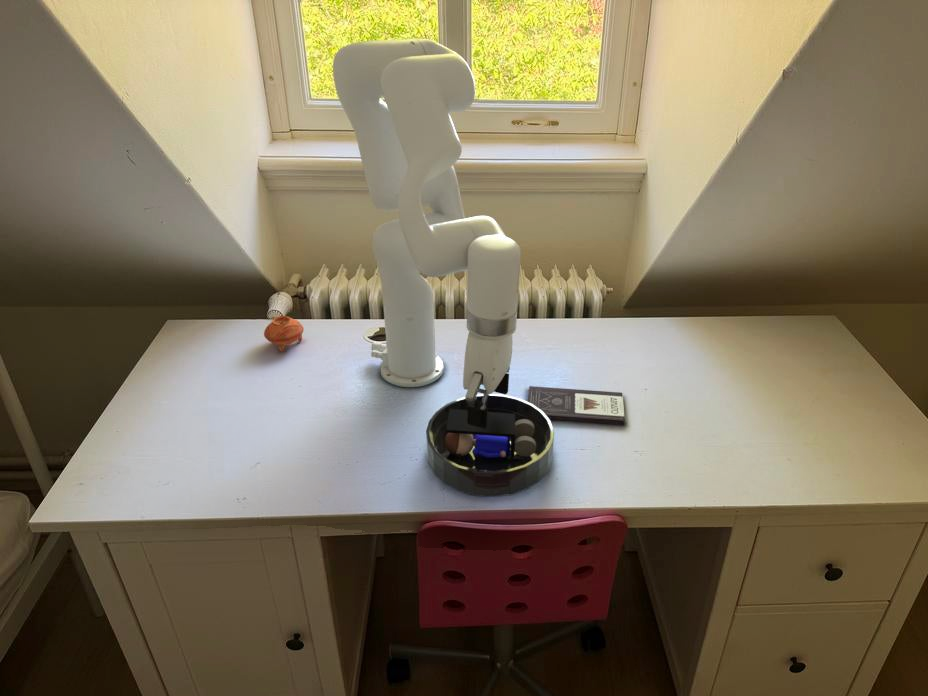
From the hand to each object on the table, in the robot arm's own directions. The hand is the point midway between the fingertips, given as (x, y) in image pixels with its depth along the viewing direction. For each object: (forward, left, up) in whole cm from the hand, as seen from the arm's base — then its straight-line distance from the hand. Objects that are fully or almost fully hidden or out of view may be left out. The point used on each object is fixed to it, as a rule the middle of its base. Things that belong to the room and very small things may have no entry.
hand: (488, 408), depth 113 cm
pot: (-52, +17, -10) cm, 56 cm away
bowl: (+1, -1, -10) cm, 10 cm away
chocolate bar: (+11, +18, -10) cm, 23 cm away
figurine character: (+1, -1, -9) cm, 9 cm away
